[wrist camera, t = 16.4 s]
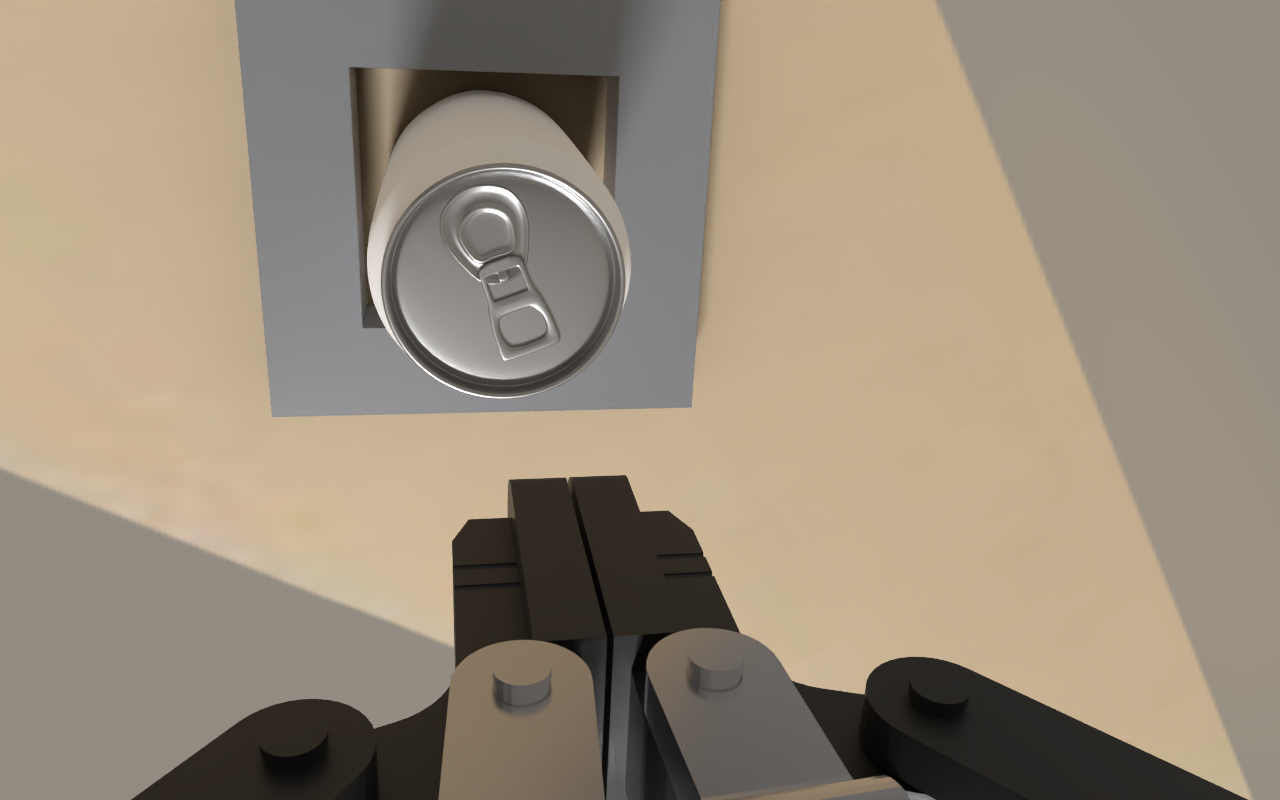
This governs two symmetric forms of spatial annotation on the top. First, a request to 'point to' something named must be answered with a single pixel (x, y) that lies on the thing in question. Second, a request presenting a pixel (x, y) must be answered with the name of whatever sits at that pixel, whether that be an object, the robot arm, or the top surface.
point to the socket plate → (332, 194)
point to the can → (496, 249)
